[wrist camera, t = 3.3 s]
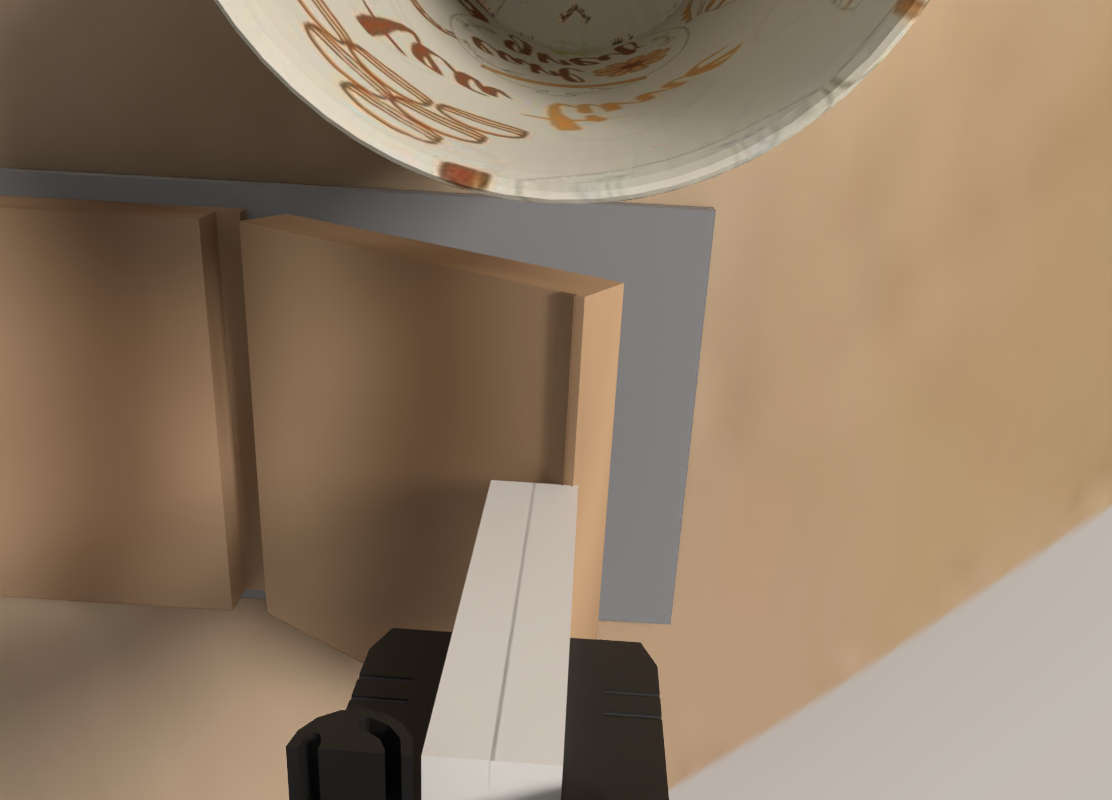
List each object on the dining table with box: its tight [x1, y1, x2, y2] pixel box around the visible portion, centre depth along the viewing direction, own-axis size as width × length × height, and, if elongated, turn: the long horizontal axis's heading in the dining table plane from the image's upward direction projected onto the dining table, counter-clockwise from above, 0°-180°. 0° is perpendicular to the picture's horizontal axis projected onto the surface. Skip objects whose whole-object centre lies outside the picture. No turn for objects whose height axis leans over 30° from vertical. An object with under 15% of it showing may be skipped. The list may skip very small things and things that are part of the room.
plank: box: [239, 214, 624, 663], centre depth 19 cm, size 8×9×1 cm
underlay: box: [0, 168, 716, 624], centre depth 22 cm, size 16×10×1 cm, turn 87°
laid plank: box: [0, 195, 265, 611], centre depth 21 cm, size 6×9×1 cm
